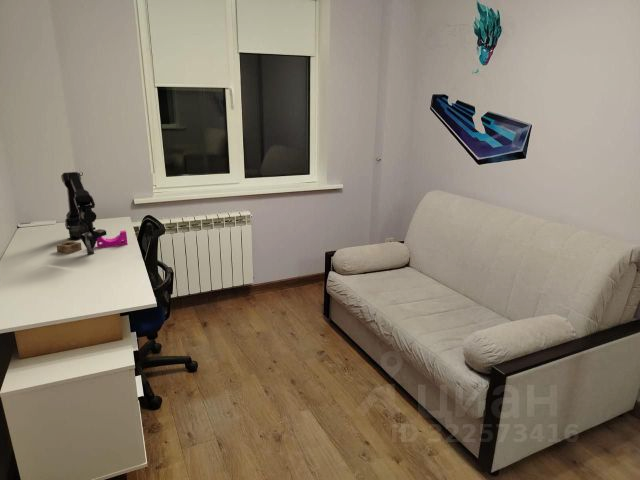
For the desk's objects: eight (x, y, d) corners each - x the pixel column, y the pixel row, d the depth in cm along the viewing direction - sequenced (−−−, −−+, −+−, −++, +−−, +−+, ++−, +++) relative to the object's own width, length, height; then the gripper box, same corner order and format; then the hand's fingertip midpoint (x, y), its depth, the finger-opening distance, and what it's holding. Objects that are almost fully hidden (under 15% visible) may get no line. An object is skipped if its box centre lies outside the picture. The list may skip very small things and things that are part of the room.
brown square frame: (57, 252, 231) (56, 245, 230) (70, 248, 239) (68, 241, 238) (69, 254, 229) (68, 246, 228) (81, 249, 236) (80, 242, 235)
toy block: (126, 242, 251) (125, 229, 249) (127, 245, 246) (126, 231, 244) (97, 245, 245) (95, 232, 243) (97, 248, 240) (95, 235, 237)
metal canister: (85, 254, 229) (83, 235, 226) (90, 252, 232) (88, 234, 229) (90, 255, 228) (88, 236, 225) (95, 253, 231) (93, 234, 228)
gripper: (58, 220, 220) (62, 250, 224) (88, 223, 214) (92, 254, 219) (76, 215, 230) (80, 244, 234) (105, 218, 224) (109, 248, 229)
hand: (90, 248), depth 229 cm, fingers closed on metal canister, 3 cm apart
